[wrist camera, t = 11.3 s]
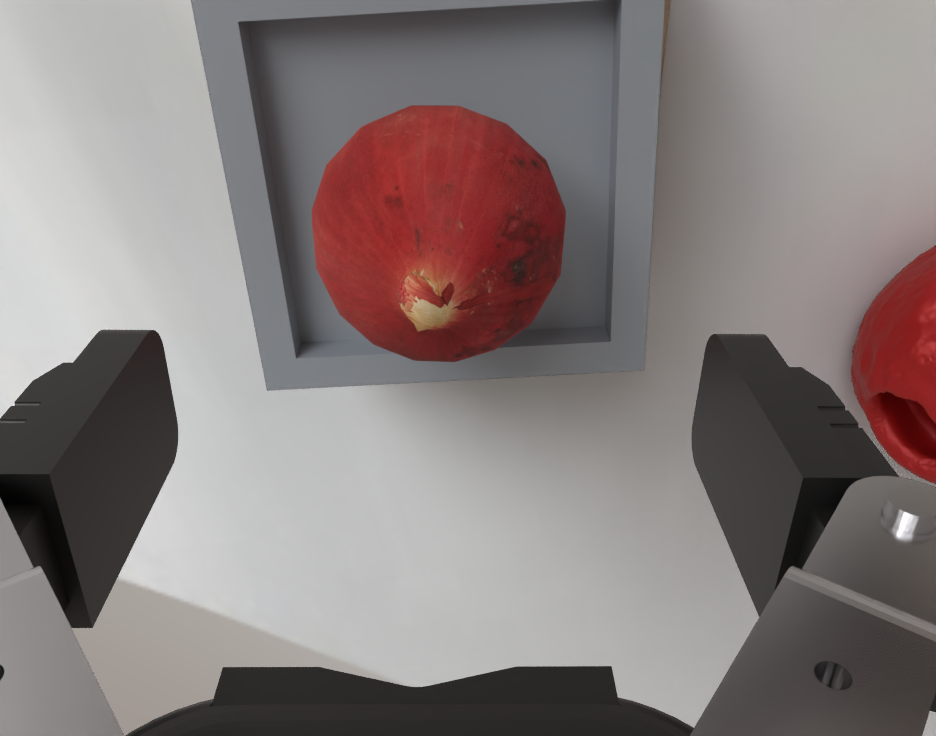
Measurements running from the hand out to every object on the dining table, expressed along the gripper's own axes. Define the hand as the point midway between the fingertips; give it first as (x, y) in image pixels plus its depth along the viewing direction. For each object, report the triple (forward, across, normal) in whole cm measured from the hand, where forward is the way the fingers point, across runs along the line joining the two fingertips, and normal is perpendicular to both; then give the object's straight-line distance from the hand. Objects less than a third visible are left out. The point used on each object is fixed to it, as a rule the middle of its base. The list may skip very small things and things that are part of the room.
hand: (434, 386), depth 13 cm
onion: (+12, 0, 0) cm, 12 cm away
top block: (+14, 0, 0) cm, 15 cm away
